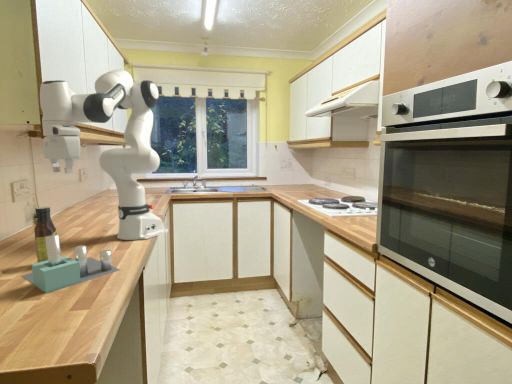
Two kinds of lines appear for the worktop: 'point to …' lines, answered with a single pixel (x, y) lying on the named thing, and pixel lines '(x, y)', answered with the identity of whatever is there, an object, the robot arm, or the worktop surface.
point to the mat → (93, 272)
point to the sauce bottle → (43, 232)
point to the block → (56, 274)
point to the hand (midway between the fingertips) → (62, 172)
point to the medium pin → (81, 259)
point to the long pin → (53, 250)
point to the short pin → (105, 260)
